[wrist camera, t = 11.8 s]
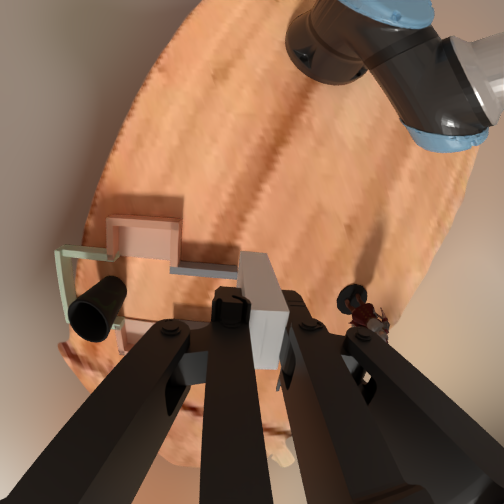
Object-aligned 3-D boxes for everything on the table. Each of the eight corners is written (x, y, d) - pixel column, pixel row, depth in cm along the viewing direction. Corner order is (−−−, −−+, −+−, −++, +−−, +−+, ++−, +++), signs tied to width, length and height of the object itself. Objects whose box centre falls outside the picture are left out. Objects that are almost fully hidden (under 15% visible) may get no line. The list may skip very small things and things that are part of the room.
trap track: (241, 224, 45) (242, 229, 41) (228, 358, 53) (228, 371, 49) (63, 211, 41) (51, 216, 37) (80, 337, 49) (72, 347, 45)
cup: (92, 296, 47) (64, 328, 35) (101, 263, 45) (70, 291, 33) (126, 313, 48) (104, 350, 37) (137, 282, 46) (113, 315, 35)
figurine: (362, 277, 50) (402, 316, 35) (371, 306, 52) (407, 347, 38) (332, 294, 50) (364, 339, 36) (342, 321, 52) (373, 368, 38)
